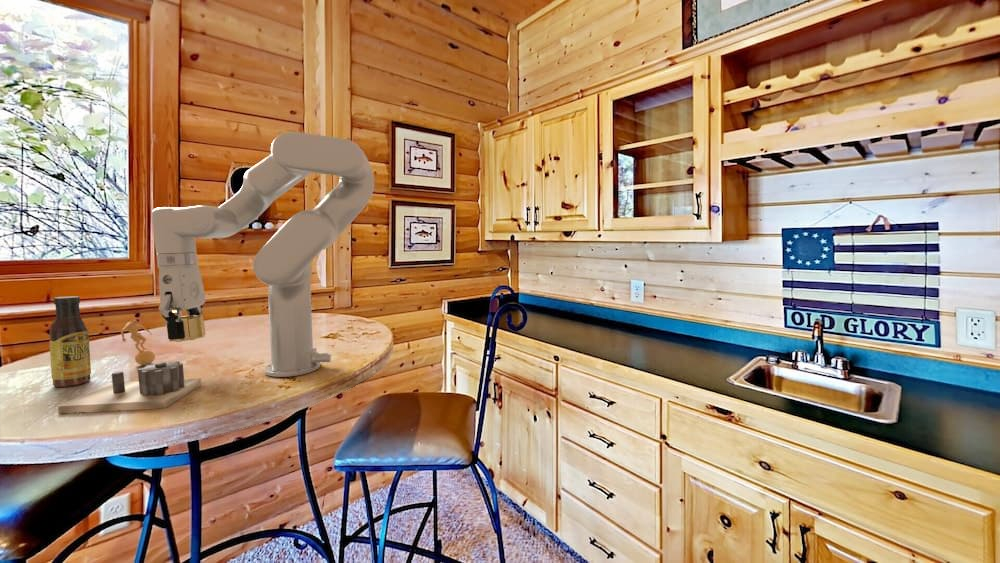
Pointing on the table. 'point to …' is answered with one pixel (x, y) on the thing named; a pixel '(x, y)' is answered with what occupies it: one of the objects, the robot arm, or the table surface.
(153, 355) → the figurine
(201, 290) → the robot arm
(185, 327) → the cream toothed wheel
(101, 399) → the gear board
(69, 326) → the sauce bottle
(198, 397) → the table surface
